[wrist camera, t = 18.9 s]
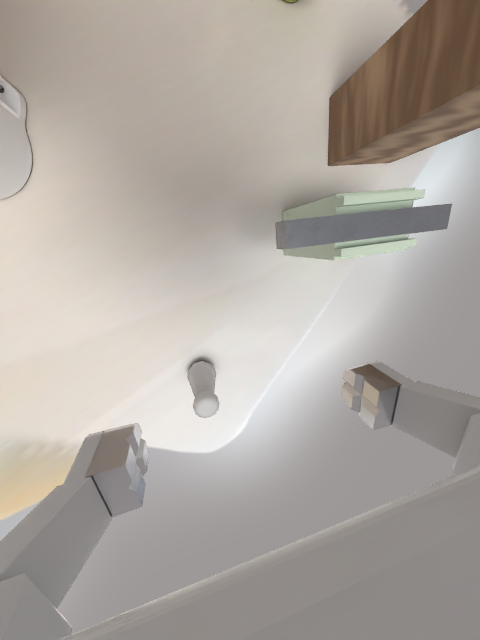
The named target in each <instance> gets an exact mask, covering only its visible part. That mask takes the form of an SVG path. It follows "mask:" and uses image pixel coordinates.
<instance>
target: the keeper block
mask: <svg viewBox="0 0 480 640" xmlns="http://www.w3.org/2000/svg"><path fill="white" fill-rule="evenodd" d="M424 194H425V189H423V190H415V188H403V189H390V190H378V191H366V192H353V193H341V194H335V195H332V196H329V197H326V198H323V199H319V200H316V201H313V202H310V203H307V204H304V205H301V206H298V207H295V208H292V209H289V210H286V211H283V212H282V214H283V221H285V220H293V219H303V218H313V217H323V216H333V215H343V214H353V213H363V212H373V211H383V210H393V209H403V208H412V207H413V200H415V199H421V198H424ZM416 244H417V239H408V234H402V235H395V236H387V237H379V238H371V239H363V240H355V241H347V242H340V243H332V244H324V245H316V246H308V247H300V248H293V249H284V255H288V256H297V257H307V258H317V259H327V260H339V259H346V258H353V257H359V256H366V255H373V254H380V253H386V252H393V251H400V250H406V248H407V247H413V246H416Z"/></svg>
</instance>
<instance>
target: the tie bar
mask: <svg viewBox="0 0 480 640" xmlns="http://www.w3.org/2000/svg"><path fill="white" fill-rule="evenodd" d="M451 206H452V204H444V205H434V206H425V207H414V208H403V209H393V210H383V211H373V212H363V213H353V214H343V215H333V216H323V217H313V218H303V219H293V220H285V221H281V222H276V245H277V249H293V248H300V247H308V246H316V245H324V244H332V243H340V242H347V241H355V240H363V239H371V238H379V237H387V236H395V235H402V234H410V233H418V232H425V231H433V230H442V229H447V226H448V221H449V216H450V211H451Z"/></svg>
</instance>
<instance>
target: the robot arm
mask: <svg viewBox="0 0 480 640" xmlns="http://www.w3.org/2000/svg"><path fill="white" fill-rule="evenodd" d="M1 88H4V90H5V91H4V93H1V92H0V200H1V199H5V198H7V197H10V196H12V195H13V194H15V193H17V192H18V191H19V190H20V189H21V188H22V187H23V186H24V184H25V183H26V181H27V180H28V178H29V175H30V172H31V167H32V152H31V147H30V143H29V139H28V136H27V133H26V129H25V120H26V102H25V99H24V97H23V96H22V95H21V94H20V93H19V92H18V91H17V90H16V89H15V88H14V87H13V86H11V85H10V84H9V83H8V82H7V81H6V80H5V79H4V78H3V77H1V76H0V89H1ZM343 379H344V380H345V383H344V385H343V386H342V396H343V399H344V401H345V403H346V404H347V405H348V406H349V407H350V409H352V410H354V411H357V412H359V417H360V418H361V419H362V420H363V421H364V422H365V423H366V424H367V425H368V426H369V427H370V428H371V429H372V430H376V429H379V428H383V427H386V426H389V425H392V426H393V427H395V428H397V429H399V430H401V431H403V432H405V433H407V434H409V435H411V436H413V437H415V438H417V439H419V440H421V441H423V442H425V443H427V444H429V445H431V446H433V447H435V448H437V449H439V450H441V451H443V452H445V453H447V454H449V455H451V456H453V457H455V460H454V463H453V466H452V470H453V472H454V473H455V474H456V475H454V476H451V477H449V478H446V479H444V480H442V481H439V482H437V483H434V484H432V485H430V486H427V487H425V488H422V489H420V490H417V491H415V492H413V493H411V494H408V495H405V496H403V497H401V498H398V499H396V500H393V501H391V502H389V503H386V504H384V505H381V506H379V507H377V508H374V509H372V510H370V511H367V512H364V513H362V514H360V515H357V516H355V517H352V518H350V519H348V520H345V521H343V522H341V523H338V524H336V525H333V526H331V527H328V528H326V529H324V530H321V531H319V532H317V533H314V534H312V535H309V536H307V537H304V538H302V539H300V540H297V541H295V542H292V543H290V544H288V545H285V546H283V547H280V548H278V549H276V550H273V551H271V552H269V553H266V554H264V555H261V556H259V557H256V558H254V559H252V560H249V561H247V562H244V563H242V564H240V565H237V566H235V567H232V568H230V569H228V570H225V571H223V572H220V573H218V574H216V575H213V576H211V577H208V578H206V579H204V580H201V581H199V582H196V583H194V584H192V585H189V586H187V587H184V588H182V589H180V590H177V591H175V592H173V593H170V594H168V595H165V596H163V597H160V598H158V599H156V600H153V601H151V602H149V603H146V604H144V605H141V606H139V607H136V608H134V609H132V610H129V611H127V612H125V613H122V614H120V615H117V616H115V617H112V618H110V619H108V620H105V621H103V622H100V623H98V624H96V625H93V626H91V627H88V628H86V629H83V630H81V631H79V632H76V633H74V634H71V632H72V627H71V625H70V624H69V622H68V621H67V620H66V619H65V618H64V616H63V615H62V614H61V613H60V612H59V611H58V610H57V608H58V606H59V605H60V603H61V601H62V600H63V598H64V596H65V595H66V593H67V591H68V590H69V588H70V587H71V585H72V584H73V582H74V580H75V579H76V577H77V575H78V574H79V572H80V571H81V569H82V567H83V566H84V564H85V563H86V561H87V559H88V558H89V556H90V554H91V553H92V551H93V550H94V548H95V546H96V545H97V543H98V542H99V540H100V538H101V537H102V535H103V533H104V532H105V530H106V529H107V527H108V525H109V524H110V522H111V521H112V517H115V516H117V515H120V514H123V513H126V512H128V511H131V510H134V509H137V508H140V507H142V505H143V498H144V490H145V482H144V479H143V476H144V474H145V473H146V472H147V467H148V450H147V445H146V442H145V440H143V439H141V433H142V431H141V428H140V425H139V424H138V423H135V424H130V425H126V426H122V427H118V428H113V429H109V430H106V431H102V432H97V433H93V434H89V435H88V436H87V437H86V438H85V439H84V441H83V444H82V446H81V448H80V450H79V452H78V454H77V456H76V458H75V461H74V463H73V465H72V467H71V469H70V471H69V473H68V475H67V477H66V480H65V482H64V484H63V485H60V486H57V487H56V488H55V489H54V490H53V491H52V492H51V493H50V494H49V495H48V496H47V497H46V498H45V499H44V500H43V501H42V502H40V503H39V504H38V505H37V507H35V508H34V509H33V510H32V511H31V512H30V513H29V514H28V515H27V516H26V517H25V518H24V519H23V520H22V521H21V522H20V523H19V524H18V525H17V526H16V527H15V528H14V529H13V530H12V531H11V532H9V533H8V534H7V535H6V537H4V538H3V539H2V540H1V541H0V640H480V397H477V396H472V395H469V394H465V393H461V392H457V391H453V390H450V389H446V388H442V387H438V386H434V385H430V384H427V383H422V382H419V381H417V382H414V381H412V380H410V379H409V378H407V377H405V376H404V375H402V374H400V373H399V372H397V371H395V370H394V369H392V368H390V367H389V366H387V365H385V364H384V363H382V362H379V361H375V362H371V363H367V364H365V365H361V366H357V367H353V368H350V369H346V370H345V371H344V373H343Z"/></svg>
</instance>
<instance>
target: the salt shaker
mask: <svg viewBox="0 0 480 640" xmlns="http://www.w3.org/2000/svg"><path fill="white" fill-rule="evenodd" d="M215 377H216V372H215V368H214V367H213V366H212V365H211V364H210V363H207V362H204V361H199V362H196V363H194V364H193V365H192V367H191V368H190V369H189V371H188V380H189V383H190V385H191V388H192V391H193V393H194V396H195V399H194V403H193V408H194V411H195V413H196V414H197V415H198V416H199V417H203V418H206V417H211V416H212V415H214V414H215V413H216V412H217V411H218V408H219V401H218V398H217V396H216V395H215V394H214V388H215Z"/></svg>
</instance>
